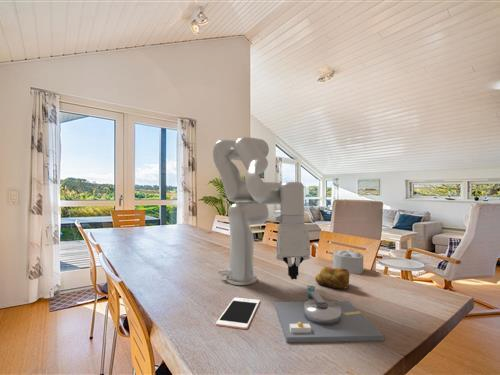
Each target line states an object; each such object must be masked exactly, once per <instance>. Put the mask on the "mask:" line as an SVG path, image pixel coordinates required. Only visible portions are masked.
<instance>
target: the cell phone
mask: <svg viewBox="0 0 500 375" xmlns="http://www.w3.org/2000/svg"><path fill="white" fill-rule="evenodd" d="M260 303H261V300H260V299H254V298H253V299H252V298H245V297H233V298H232V300H231V301H230V302H229V304H228V305H227V307H226V308H225V310H224V311H223V312H222V314H221V315H220V316H219V318H218V319H217V321H216V322H215V326H218V327H223V328H232V329H239V330H248V329H249V327H250V324H251V322H252V320H253V318H254V316H255V313H257V312H256V311H257V310H258V307H259V305H260Z"/></svg>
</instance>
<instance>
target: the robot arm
mask: <svg viewBox="0 0 500 375" xmlns="http://www.w3.org/2000/svg"><path fill="white" fill-rule="evenodd" d="M269 151H270V147H269V144H268V143H267V142H266V141H265V140H264V139H262V138H257V137H256V138H255V137H250V136H242V137H239V138H238V139H237V140H232V139H220V140H218V141H216V143H214V146H213V149H212V157H213V158H212V159H213V163H214V164H215V168H216V169H217V171H218V174H219V176H220V180H221V183H222V186H223V190H224V193H225V196H226V199H228V200H229V201H230V202H233V203H232V204H231V205H230V206H229V208H228V211H227V218H228V224H229V233H230V234H229V235H230V237H229V239H230V241H229V242H230V243H229V267H228V268H227V269H218V275H221V277H225V276H226V277H225V280H226V283H228V284H230V285H234V286H235V285H236V286H249V285H251V284H255V283H256V282H257V281H258V277H257V275H256V274H254V247H255V246H254V242H255V241H254V233H253V231H252V230H251V227H250V226H252V225H253V226H255V225H261V224H265V223H266V222H267V221H268V219H269V208H268V205H280V207H279V208H280V215H279V216H276V217H275V219H276V220H275V221H276V222H279V223H280V224H278V227H277V234H276V256H275V258H276V260H278V261H281V262H284V263H285V264H286V265H287V272H288V273H287V275H288V276H289V278H290V279H291V280H298V277H299V266H300V265H301V264H302V263H303V261H308V260H309V259H311V256H310V254H311V243H310V241H311V240H310V235H309V234H310V232H309V228H308V224H305V199H304V198H305V196H304V195H305V190H304V185H303V184H304V183H302V182H301V181H285V182H274V181H273V182H269V181H268V182H267V181H264V180H263V179H262V178H261V176H260V175H261V174H262V173H263V172H265V171H266V170H267V168H268V166H269V160H268V159H267V158H268V156H269ZM232 160H233V161H239V162H242V164H243V166H244V167H245V168H246V173H245V179H244V178H243V177H242V176H241V172H240V170H239V168H238V167H237V165H236V164H235V163H234V162H233V161H232ZM292 258H294V259H293V261H292Z"/></svg>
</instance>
